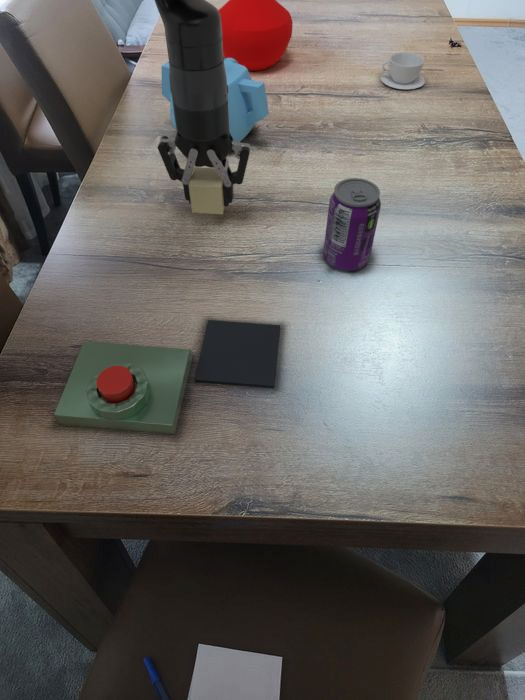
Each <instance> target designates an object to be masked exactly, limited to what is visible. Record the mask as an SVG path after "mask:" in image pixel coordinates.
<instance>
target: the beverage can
mask: <svg viewBox="0 0 525 700" xmlns="http://www.w3.org/2000/svg"><path fill="white" fill-rule="evenodd" d="M380 196H381V190H380V188H379V187H378V185H377V184H375V183H374V182H372V181H370V180H368V179H365V178H359V177H350V178H345V179H342V180H341V181H339V182H337V183H336V185H335V186H334V190H333V192H332V194H331V195H330V198H329V203H328V211H327V218H326V219H327V220H326V227H325V228H326V229H325V234H324V244H323V251H322V254H323V258H324V260H325V262H326V263H327V264H328V265H329V266H331V267H333V268H335V269H338V270H342V271H355V270H359V269H361V268H363V267H365V266H366V265H367V264H368V263H369V261H370V258H371V253H372V249H373V246H374V245H373V244H374V241H375V236H376V231H377V225H378V221H379V218H380V212H381V207H382V202H381V199H380Z"/></svg>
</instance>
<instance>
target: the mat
mask: <svg viewBox="0 0 525 700" xmlns="http://www.w3.org/2000/svg"><path fill="white" fill-rule="evenodd" d="M280 333H281V325H280V324H272V323H271V324H270V323H269V324H268V323H256V322H255V323H254V322H243V321H229V320H228V321H227V320H213V319H208V320H207V323H206V328H205V332H204V335H203V340H202V345H201V350H200V354H199V359H198V364H197V368H196V372H195V377H194V382H195V383H203V384H217V385H228V386H241V387H242V386H243V387H253V388H265V389H274V388H275V384H276V383H275V381H276V374H277V373H276V372H277V363H278V354H279V353H278V352H279V343H280Z"/></svg>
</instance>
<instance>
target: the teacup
mask: <svg viewBox="0 0 525 700" xmlns="http://www.w3.org/2000/svg"><path fill="white" fill-rule="evenodd" d="M424 63H425V59H424V57H423V56H421V55H419V54H417V53H414V52H407V51H401V52H396V53H393V54H392V55H390V57H389V60H386V61H384V62H383V63H382V67H381V70H382V72H383V73H382V74H381V75H380V81H381V82H382V83H383V84H384V85H386V86H387V87H390V88H393V89H397V90H415V89H418V88H421V87H422V86H424V85H425V83H426V79H425V77H424V76H423V75H422V74H421V71H422V68H423V65H424ZM385 65H387V66H388V70H387V69H386V68H385Z"/></svg>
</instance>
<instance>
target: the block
mask: <svg viewBox="0 0 525 700" xmlns="http://www.w3.org/2000/svg"><path fill="white" fill-rule="evenodd" d="M189 192H190V200H191V204H190V207H191V213H193V214H195V213H196V214H209V215H224V211H225V208H226V206H224V199H223V182H222V180H221V178H220V176H218V174H217V172H216V170H215V168H210V167H195V166H194V169H193V173H192V177H191V180H190V183H189Z"/></svg>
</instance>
